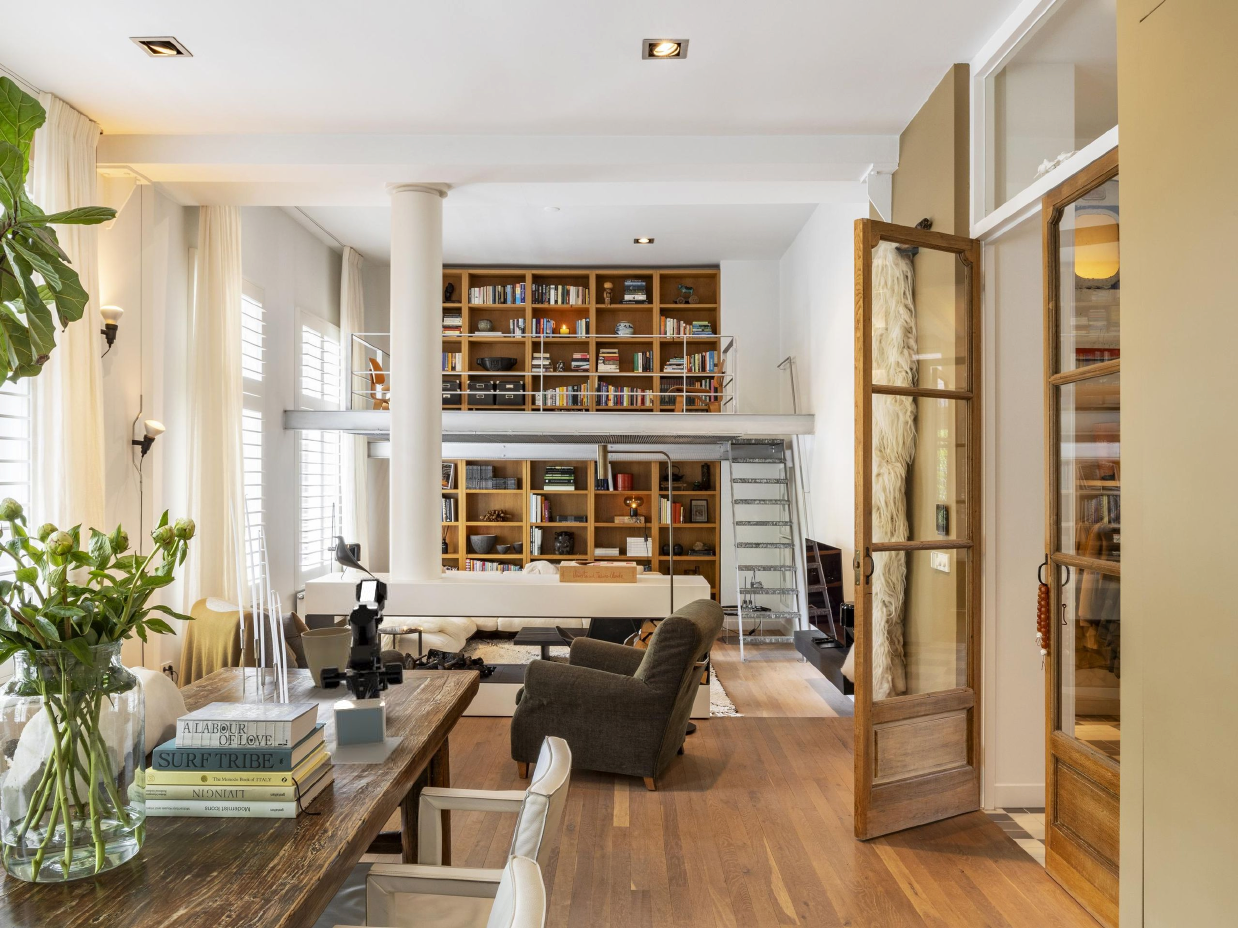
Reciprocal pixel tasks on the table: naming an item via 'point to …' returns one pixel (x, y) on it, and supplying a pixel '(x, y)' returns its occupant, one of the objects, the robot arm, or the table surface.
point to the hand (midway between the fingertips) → (360, 707)
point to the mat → (363, 752)
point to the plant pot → (326, 650)
